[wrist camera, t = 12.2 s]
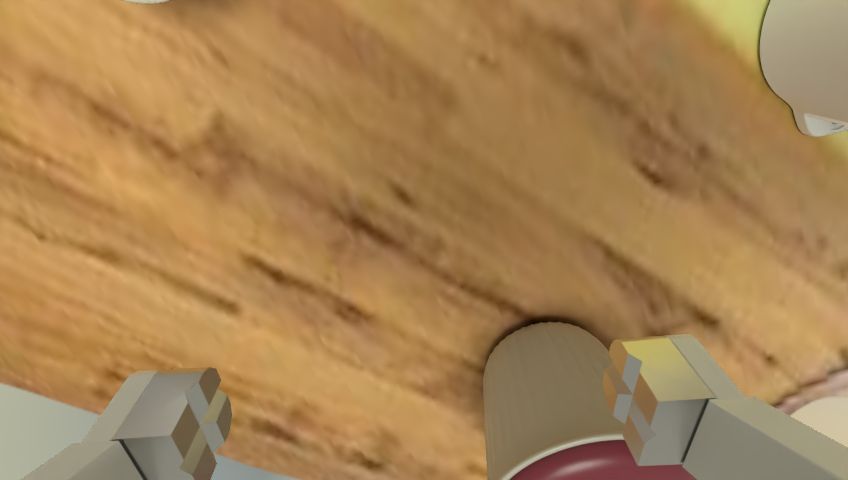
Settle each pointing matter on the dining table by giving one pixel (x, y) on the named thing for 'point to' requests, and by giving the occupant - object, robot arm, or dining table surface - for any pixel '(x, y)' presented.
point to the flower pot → (147, 1)
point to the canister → (556, 411)
